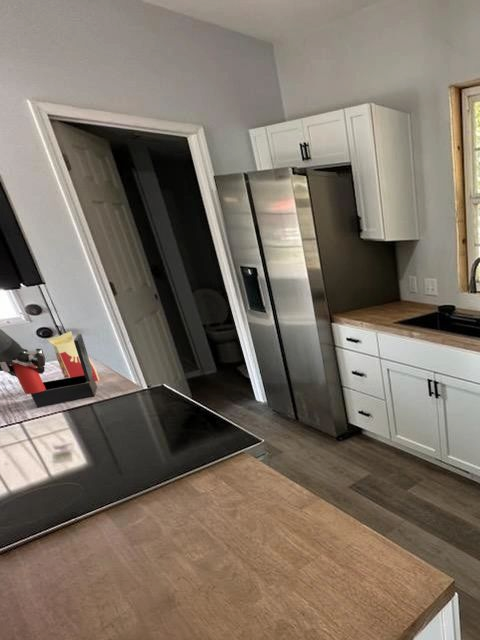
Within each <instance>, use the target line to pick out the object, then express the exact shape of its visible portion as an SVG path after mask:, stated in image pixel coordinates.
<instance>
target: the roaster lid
mask: <svg viewBox="0 0 480 640" xmlns="http://www.w3.org/2000/svg"><path fill="white" fill-rule="evenodd" d="M74 343H75V346H76V350H77V353H78V356H79V359H80V362H81V366H82V369H83V372H84V375H85V378H86V382H88V381H90V380H91V376H92V373H93V371H92V367H91V364H90V361H89V359H90V357H89V355H88V352H87V348H86V344H85V342H84V338H83V335H82V333H77V335H76V336H75V338H74ZM88 357H89V358H88Z"/></svg>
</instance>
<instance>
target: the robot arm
mask: <svg viewBox="0 0 480 640" xmlns="http://www.w3.org/2000/svg"><path fill="white" fill-rule="evenodd" d="M13 364H21V365H23V366H29V367H32V368H33V369H34V370H35V371H37V372H38V373H39V375H42V374H44V372H46V371H45V366H46V357H45V354H44V351H43V349H42V348H36V349H35V350H28V349H26V348H23V347H22V346H21V345H20V344H19V342H17V341H16V340H15V339H14V338H12V337H11V336H10V335H9V334H8V333H7V332H5V331H4V330H3V329H1V328H0V372H4V373H7V374H9V375H10V376H12V377H15V378H17V376H16V374H15V372H14V370H13V368H12V366H11V365H13Z"/></svg>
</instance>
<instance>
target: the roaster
mask: <svg viewBox="0 0 480 640" xmlns="http://www.w3.org/2000/svg"><path fill="white" fill-rule="evenodd" d="M42 382H43V384H44V386H45V388H46V390H44V391H42V392H38V393H33V394H30V395H31V398H32V400H33V402H34V404H35V406H36V408H37V409H40V408H44V407H49V406H55V405H58V404H64V403H69V402H75V401H78V400H84V399H89V398H93V397H95V396H96V393H97V389H98V385H97V383H96V382H97V381H95V380H94V378H93V375H92V376H91V380H90V381H88V382H86V378H85V375H81V376H76V377H70V378H64V377H63V378H59V379H53V380H47V381H42Z"/></svg>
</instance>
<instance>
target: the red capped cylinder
mask: <svg viewBox="0 0 480 640" xmlns="http://www.w3.org/2000/svg"><path fill="white" fill-rule="evenodd" d="M11 366H12V368H13V370H14V372H15V374H16V376H17V377H16V378H17V380H18V382H19V384H20V386H21V388H22V390H23V392H24V394H25V395H31V394H33V393H38V392H42V391H44V390H46V388H45V386H44V384H43V382H44V381H43V380H42V377H41V374H39V373H38V372H37V371H35V370H34V369H33V368H32V367H29V366H23V365H21V364H13V365H11Z"/></svg>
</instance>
